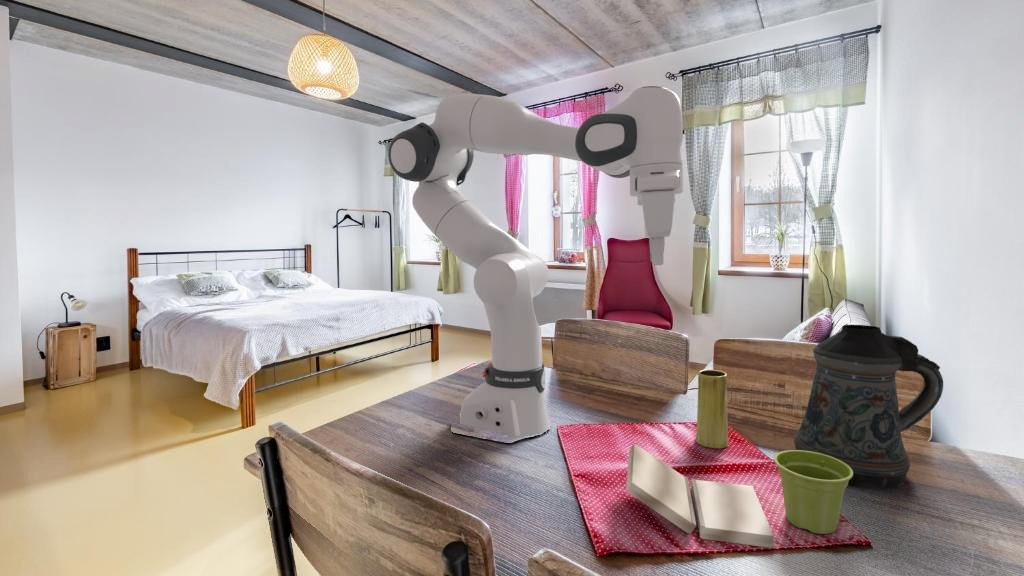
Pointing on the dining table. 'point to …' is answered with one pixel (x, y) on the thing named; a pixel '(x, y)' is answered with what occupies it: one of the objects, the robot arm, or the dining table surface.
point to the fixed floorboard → (730, 514)
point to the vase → (712, 409)
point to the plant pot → (812, 488)
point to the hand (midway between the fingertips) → (656, 263)
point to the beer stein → (866, 404)
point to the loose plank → (660, 488)
